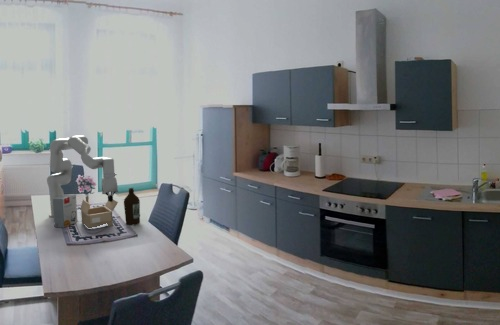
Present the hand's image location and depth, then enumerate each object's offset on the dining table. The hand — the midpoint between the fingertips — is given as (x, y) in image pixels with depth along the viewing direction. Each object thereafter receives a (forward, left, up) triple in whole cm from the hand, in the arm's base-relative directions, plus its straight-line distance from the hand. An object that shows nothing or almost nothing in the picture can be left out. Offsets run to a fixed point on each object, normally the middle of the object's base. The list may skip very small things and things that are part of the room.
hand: (110, 201), depth 283 cm
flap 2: (0, 0, -2) cm, 2 cm away
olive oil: (+12, +11, -15) cm, 22 cm away
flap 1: (0, -17, -2) cm, 17 cm away
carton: (0, -10, -15) cm, 18 cm away
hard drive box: (-14, -27, -15) cm, 34 cm away
